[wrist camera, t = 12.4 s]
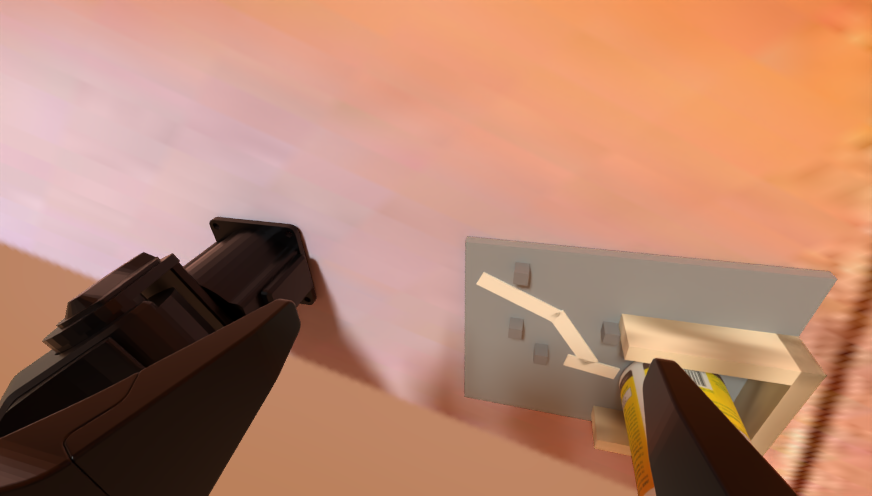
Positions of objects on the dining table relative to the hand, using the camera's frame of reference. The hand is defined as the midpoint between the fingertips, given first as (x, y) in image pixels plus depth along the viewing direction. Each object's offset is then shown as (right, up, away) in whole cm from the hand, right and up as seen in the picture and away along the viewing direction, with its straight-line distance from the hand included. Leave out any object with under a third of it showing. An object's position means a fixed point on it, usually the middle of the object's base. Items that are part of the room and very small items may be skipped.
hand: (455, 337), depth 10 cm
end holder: (+14, -5, +14) cm, 21 cm away
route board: (+10, -4, +14) cm, 18 cm away
